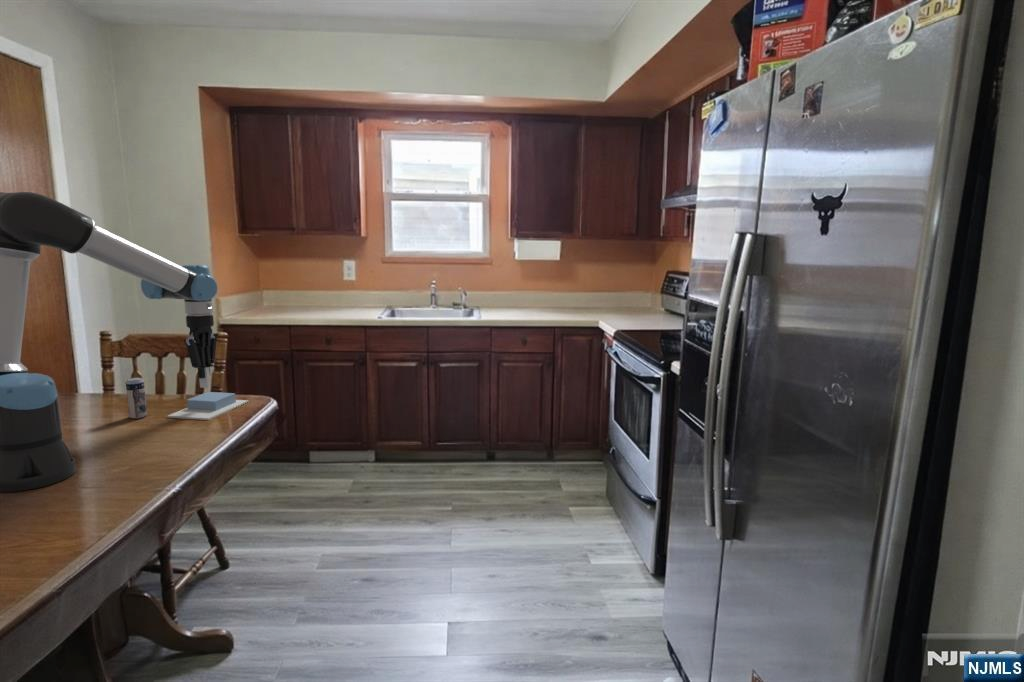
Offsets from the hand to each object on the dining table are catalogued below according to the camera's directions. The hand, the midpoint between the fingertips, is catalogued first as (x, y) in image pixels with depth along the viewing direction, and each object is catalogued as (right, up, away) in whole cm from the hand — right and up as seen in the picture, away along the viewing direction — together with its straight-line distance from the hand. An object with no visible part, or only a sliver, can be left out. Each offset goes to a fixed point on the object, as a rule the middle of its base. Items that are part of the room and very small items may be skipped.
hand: (205, 387), depth 177 cm
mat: (+1, -7, +1) cm, 7 cm away
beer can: (-17, -9, -7) cm, 20 cm away
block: (0, -6, -2) cm, 6 cm away
